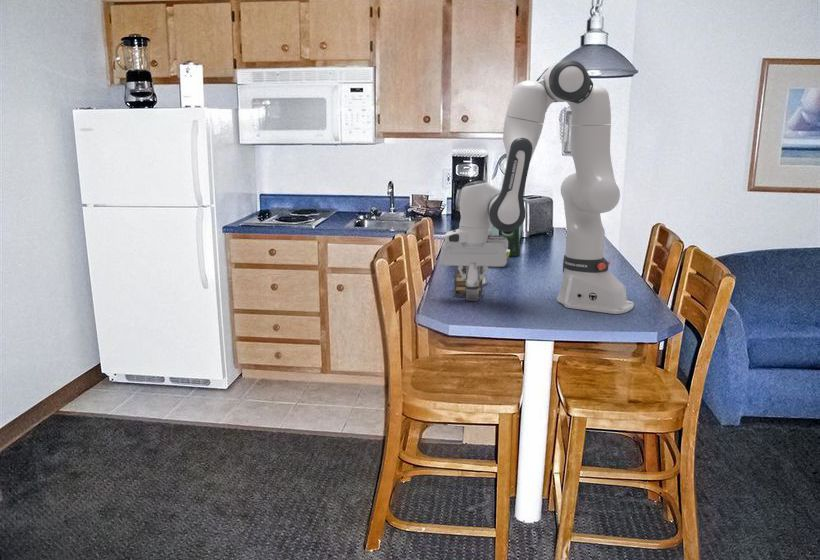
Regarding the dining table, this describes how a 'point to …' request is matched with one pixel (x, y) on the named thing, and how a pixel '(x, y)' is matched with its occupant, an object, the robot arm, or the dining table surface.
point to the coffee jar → (512, 241)
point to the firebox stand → (464, 283)
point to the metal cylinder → (472, 282)
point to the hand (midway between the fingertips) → (472, 279)
